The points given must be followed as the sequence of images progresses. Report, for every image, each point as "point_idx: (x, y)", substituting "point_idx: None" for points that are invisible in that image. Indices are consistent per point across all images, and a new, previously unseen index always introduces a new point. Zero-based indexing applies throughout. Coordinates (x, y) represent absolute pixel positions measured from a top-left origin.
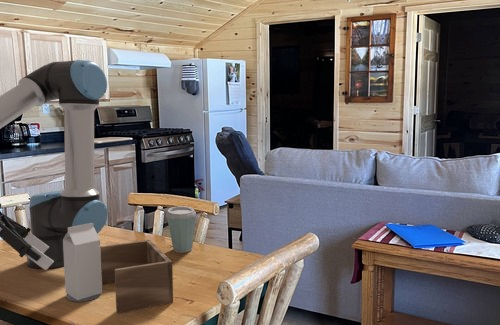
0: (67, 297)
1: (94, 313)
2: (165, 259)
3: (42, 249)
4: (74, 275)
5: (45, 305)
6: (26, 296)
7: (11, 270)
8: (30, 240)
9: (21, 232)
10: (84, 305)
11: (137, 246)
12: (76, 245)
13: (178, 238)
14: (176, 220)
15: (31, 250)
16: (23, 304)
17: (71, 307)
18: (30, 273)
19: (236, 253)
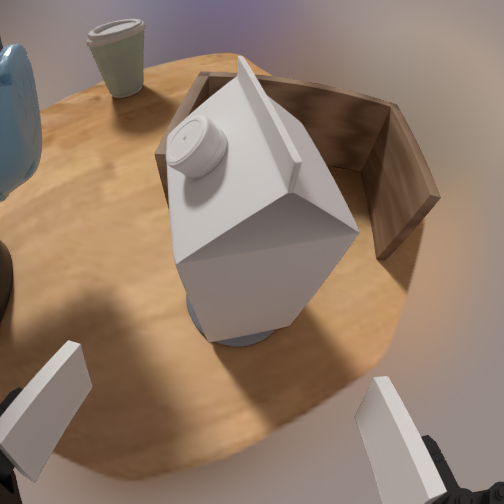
0: (244, 345)
1: (369, 302)
2: (379, 102)
3: (78, 380)
4: (296, 305)
5: (253, 409)
6: (147, 438)
7: None
8: (35, 439)
9: (4, 498)
10: (311, 314)
11: (203, 97)
12: (355, 224)
13: (132, 71)
14: (128, 40)
15: (456, 485)
16: (208, 459)
17: (308, 347)
18: (3, 362)
19: (204, 58)
